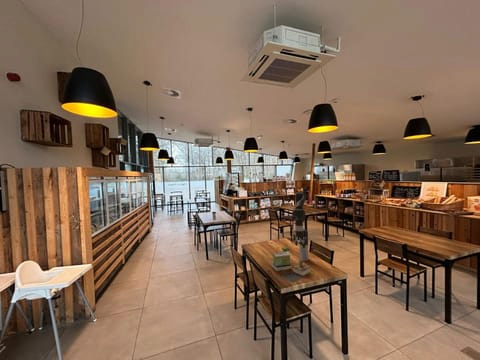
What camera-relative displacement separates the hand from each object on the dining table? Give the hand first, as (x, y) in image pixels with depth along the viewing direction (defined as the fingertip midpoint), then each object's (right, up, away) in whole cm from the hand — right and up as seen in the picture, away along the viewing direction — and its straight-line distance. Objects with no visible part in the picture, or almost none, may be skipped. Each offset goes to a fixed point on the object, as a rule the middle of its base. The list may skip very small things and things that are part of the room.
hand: (300, 246), depth 194 cm
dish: (+1, -25, 0) cm, 25 cm away
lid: (+1, -20, 0) cm, 20 cm away
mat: (-11, -26, -9) cm, 29 cm away
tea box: (-16, -26, +11) cm, 32 cm away
